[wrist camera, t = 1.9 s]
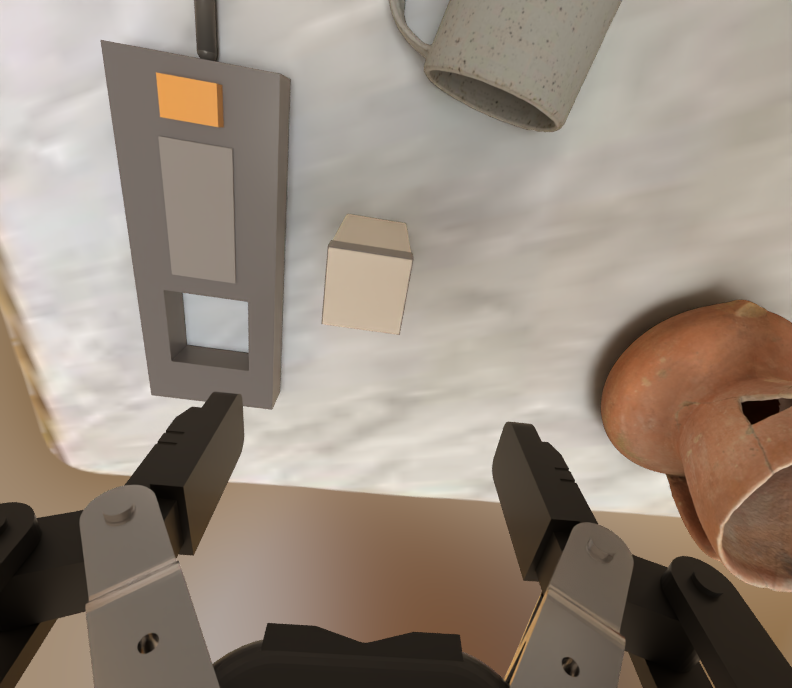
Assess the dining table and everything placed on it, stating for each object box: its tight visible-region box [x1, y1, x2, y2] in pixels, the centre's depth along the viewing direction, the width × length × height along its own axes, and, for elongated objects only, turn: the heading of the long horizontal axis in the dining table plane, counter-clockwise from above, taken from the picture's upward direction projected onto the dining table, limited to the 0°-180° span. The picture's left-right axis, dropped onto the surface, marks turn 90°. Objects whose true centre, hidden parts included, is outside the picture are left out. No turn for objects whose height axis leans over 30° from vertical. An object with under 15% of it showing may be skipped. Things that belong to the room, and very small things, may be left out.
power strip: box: [101, 0, 290, 410], centre depth 25 cm, size 29×9×3 cm, turn 171°
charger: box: [322, 214, 413, 335], centre depth 24 cm, size 4×4×9 cm
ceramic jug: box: [601, 300, 792, 592], centre depth 27 cm, size 18×14×14 cm
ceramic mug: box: [389, 0, 622, 132], centre depth 19 cm, size 11×8×8 cm
